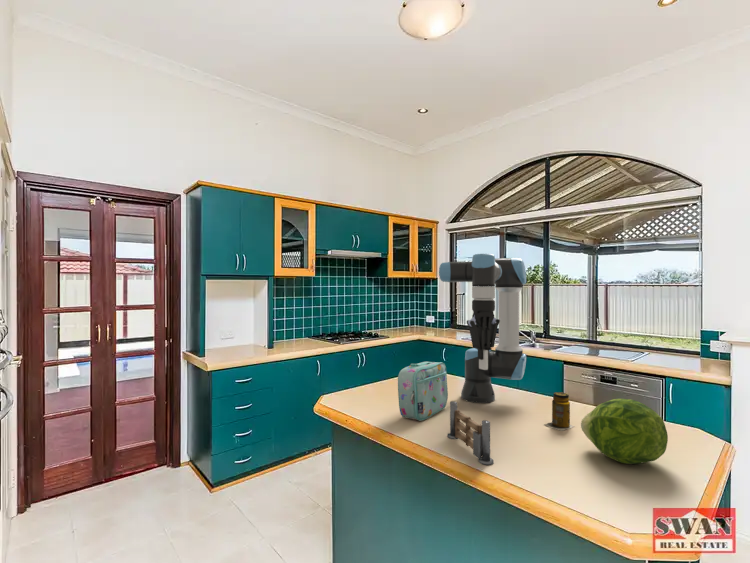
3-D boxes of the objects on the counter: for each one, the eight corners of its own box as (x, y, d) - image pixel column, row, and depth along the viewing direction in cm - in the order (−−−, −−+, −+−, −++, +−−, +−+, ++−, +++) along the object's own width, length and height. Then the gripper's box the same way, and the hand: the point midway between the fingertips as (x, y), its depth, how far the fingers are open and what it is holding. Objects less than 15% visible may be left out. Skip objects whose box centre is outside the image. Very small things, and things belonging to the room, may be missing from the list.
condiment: (574, 426, 147) (574, 394, 147) (561, 431, 143) (561, 398, 143) (556, 421, 153) (556, 390, 153) (543, 425, 149) (543, 393, 149)
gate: (455, 436, 135) (455, 410, 135) (458, 436, 135) (458, 409, 135) (479, 455, 120) (479, 426, 120) (482, 455, 120) (482, 425, 120)
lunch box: (417, 426, 147) (417, 369, 148) (395, 420, 154) (395, 365, 154) (450, 408, 169) (450, 358, 169) (429, 403, 175) (429, 355, 175)
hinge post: (456, 433, 140) (456, 400, 140) (462, 438, 136) (462, 403, 136) (445, 435, 139) (445, 401, 139) (450, 440, 135) (450, 404, 135)
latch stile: (485, 455, 122) (485, 416, 122) (496, 464, 117) (496, 423, 117) (472, 457, 121) (472, 418, 121) (483, 466, 115) (483, 425, 115)
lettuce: (599, 441, 135) (587, 389, 136) (681, 455, 117) (668, 395, 117) (572, 465, 124) (560, 407, 124) (659, 485, 105) (644, 417, 105)
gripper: (490, 298, 140) (490, 365, 140) (461, 299, 134) (461, 368, 134) (505, 299, 134) (505, 369, 134) (476, 300, 128) (476, 373, 128)
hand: (483, 368), depth 134 cm, fingers closed
